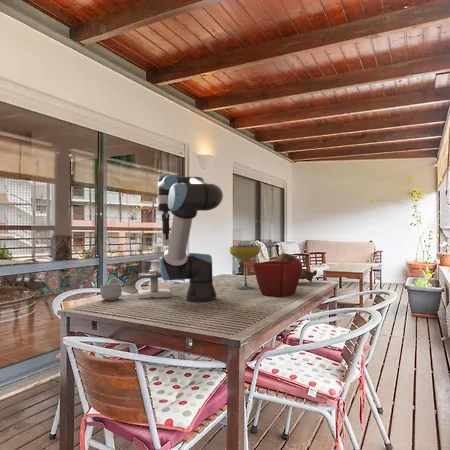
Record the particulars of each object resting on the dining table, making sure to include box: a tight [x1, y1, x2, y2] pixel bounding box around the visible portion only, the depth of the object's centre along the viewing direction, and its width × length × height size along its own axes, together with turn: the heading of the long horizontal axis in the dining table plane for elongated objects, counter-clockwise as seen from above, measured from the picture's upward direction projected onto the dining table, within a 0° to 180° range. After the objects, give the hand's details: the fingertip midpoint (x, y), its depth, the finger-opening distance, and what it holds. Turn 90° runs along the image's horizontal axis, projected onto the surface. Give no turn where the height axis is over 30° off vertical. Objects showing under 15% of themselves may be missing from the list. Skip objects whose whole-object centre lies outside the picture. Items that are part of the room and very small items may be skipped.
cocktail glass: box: [229, 245, 261, 291], centre depth 228 cm, size 18×18×25 cm
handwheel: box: [137, 269, 162, 279], centre depth 211 cm, size 17×17×8 cm
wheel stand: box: [138, 278, 172, 299], centre depth 211 cm, size 17×17×10 cm
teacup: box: [99, 282, 123, 301], centre depth 200 cm, size 14×11×8 cm
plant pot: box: [253, 260, 303, 298], centre depth 201 cm, size 19×19×17 cm
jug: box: [273, 252, 318, 283], centre depth 245 cm, size 20×20×30 cm
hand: (166, 245), depth 207 cm, fingers open, 8 cm apart
